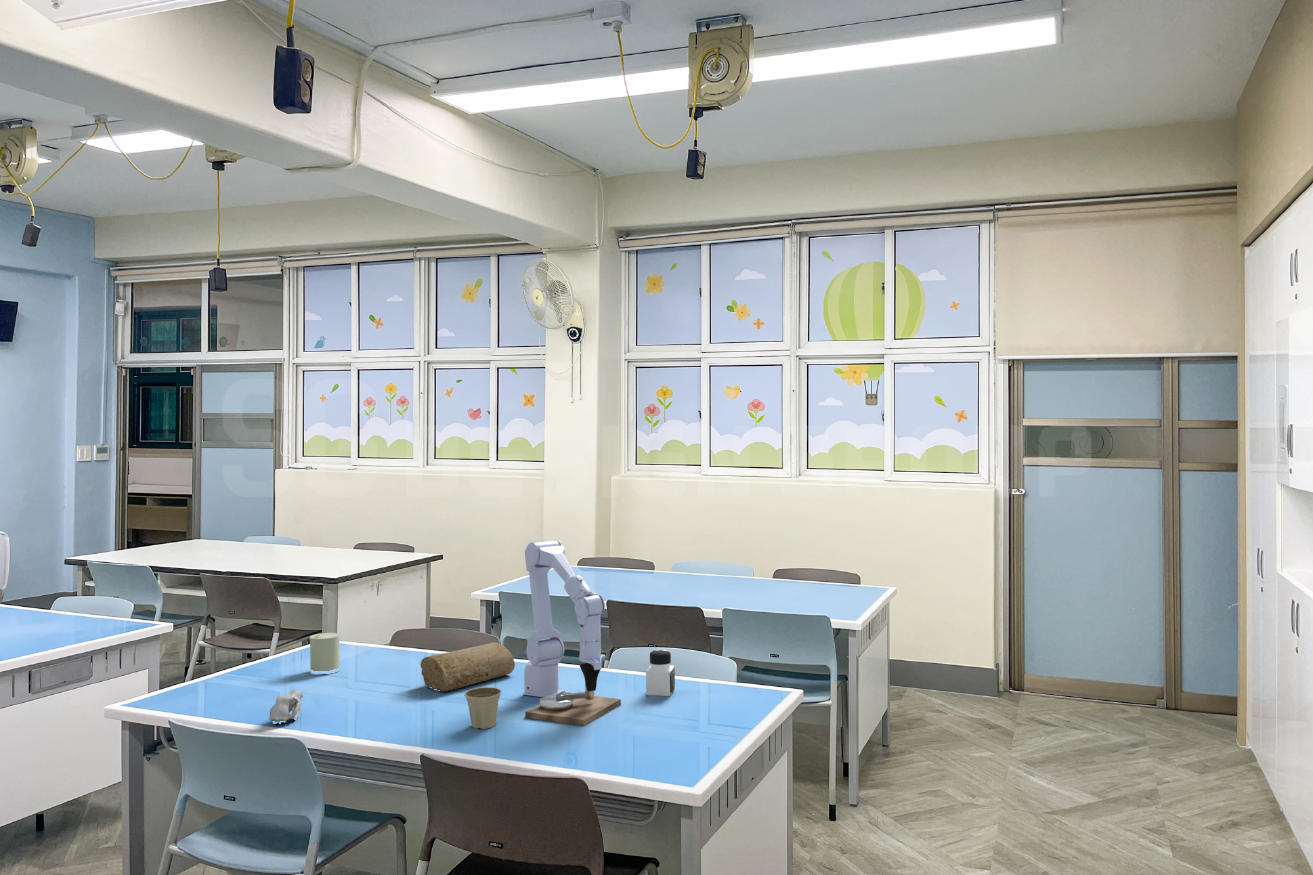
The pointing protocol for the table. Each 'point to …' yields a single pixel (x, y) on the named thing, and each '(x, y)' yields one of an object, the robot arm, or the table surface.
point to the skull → (286, 706)
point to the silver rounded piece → (564, 700)
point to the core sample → (466, 666)
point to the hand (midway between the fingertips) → (591, 690)
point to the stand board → (576, 711)
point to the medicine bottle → (660, 674)
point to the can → (324, 652)
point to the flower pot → (483, 706)
